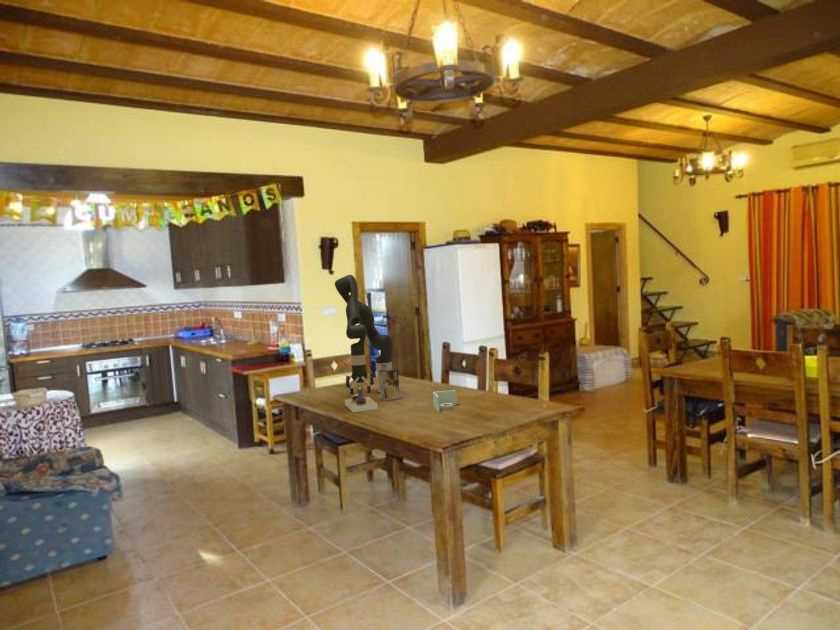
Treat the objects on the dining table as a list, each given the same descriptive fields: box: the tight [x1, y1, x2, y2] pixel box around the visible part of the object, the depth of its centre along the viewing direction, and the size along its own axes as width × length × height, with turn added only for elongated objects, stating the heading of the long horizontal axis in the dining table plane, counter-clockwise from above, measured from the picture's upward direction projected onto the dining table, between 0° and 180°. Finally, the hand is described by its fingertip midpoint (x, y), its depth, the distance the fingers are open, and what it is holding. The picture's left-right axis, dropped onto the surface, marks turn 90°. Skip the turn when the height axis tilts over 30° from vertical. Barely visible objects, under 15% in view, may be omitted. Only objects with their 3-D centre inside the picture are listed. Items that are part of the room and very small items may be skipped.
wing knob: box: [356, 385, 366, 403], centre depth 312 cm, size 8×5×8 cm, turn 3°
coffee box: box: [379, 368, 401, 402], centre depth 329 cm, size 9×6×16 cm
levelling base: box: [344, 393, 378, 413], centre depth 314 cm, size 13×18×6 cm
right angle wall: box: [432, 389, 458, 413], centre depth 301 cm, size 12×12×8 cm
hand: (360, 394), depth 312 cm, fingers open, 8 cm apart
